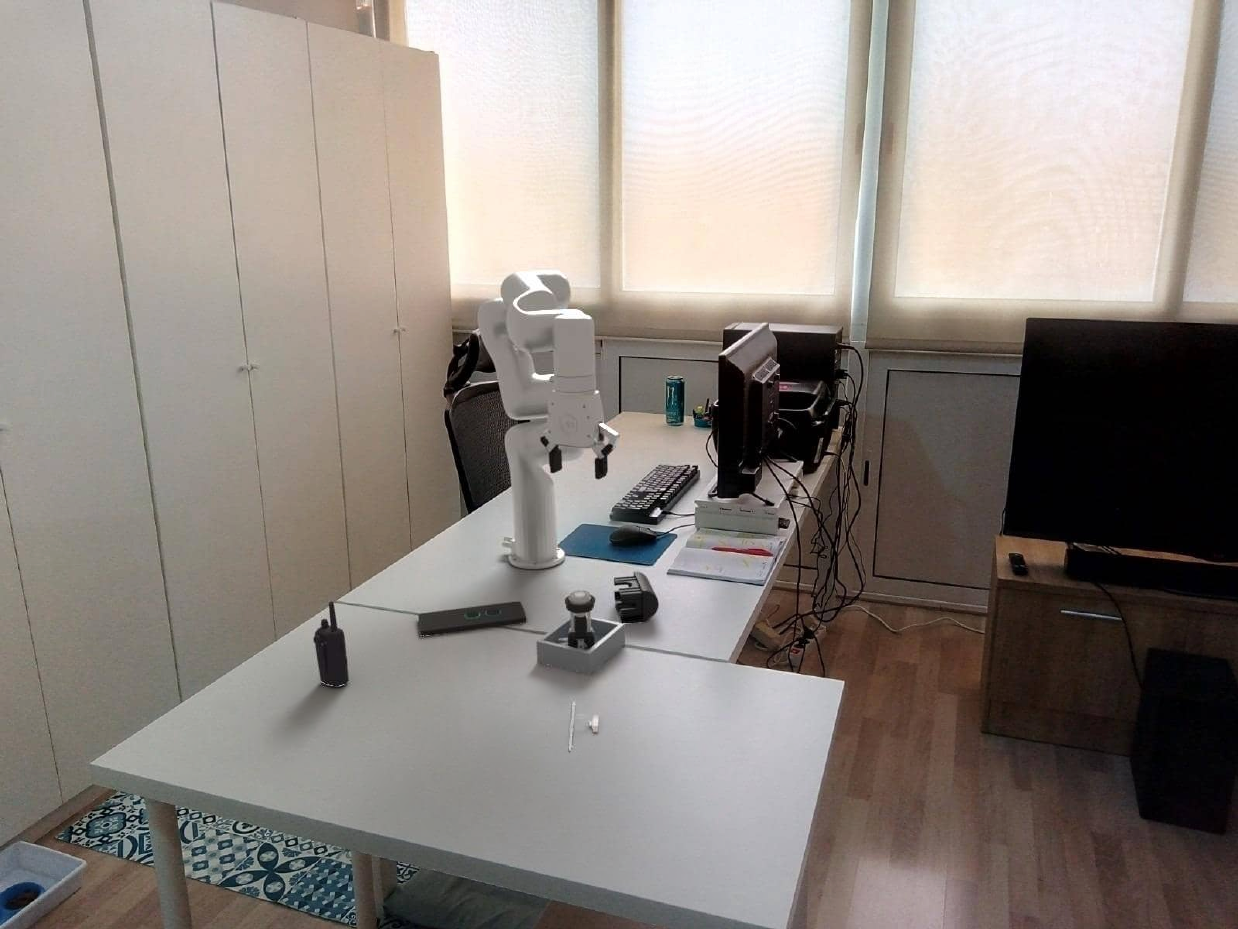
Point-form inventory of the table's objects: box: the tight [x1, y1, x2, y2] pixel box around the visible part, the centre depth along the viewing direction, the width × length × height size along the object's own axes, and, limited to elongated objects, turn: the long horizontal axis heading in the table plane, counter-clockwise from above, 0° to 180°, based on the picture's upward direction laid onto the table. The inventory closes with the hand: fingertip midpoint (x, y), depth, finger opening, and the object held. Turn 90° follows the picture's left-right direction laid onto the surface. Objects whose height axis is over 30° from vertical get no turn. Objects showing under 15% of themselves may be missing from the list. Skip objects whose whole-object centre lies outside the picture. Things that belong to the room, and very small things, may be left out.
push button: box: [559, 589, 596, 649], centre depth 157 cm, size 7×5×10 cm
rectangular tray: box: [535, 614, 626, 676], centre depth 158 cm, size 11×13×4 cm
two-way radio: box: [313, 601, 350, 686], centre depth 147 cm, size 6×4×15 cm
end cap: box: [613, 570, 660, 624], centre depth 173 cm, size 10×7×7 cm
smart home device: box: [417, 600, 528, 637], centre depth 172 cm, size 8×2×20 cm
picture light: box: [569, 701, 599, 749], centre depth 136 cm, size 14×4×2 cm, turn 0°
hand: (578, 474), depth 166 cm, fingers open, 9 cm apart
